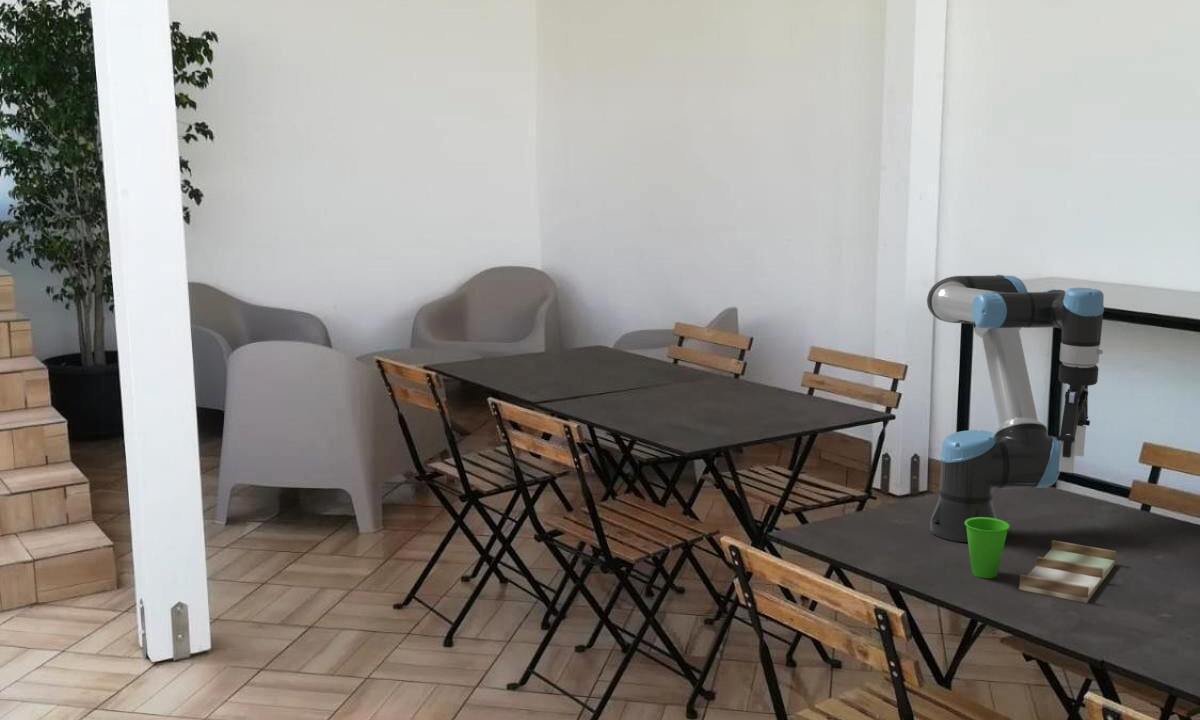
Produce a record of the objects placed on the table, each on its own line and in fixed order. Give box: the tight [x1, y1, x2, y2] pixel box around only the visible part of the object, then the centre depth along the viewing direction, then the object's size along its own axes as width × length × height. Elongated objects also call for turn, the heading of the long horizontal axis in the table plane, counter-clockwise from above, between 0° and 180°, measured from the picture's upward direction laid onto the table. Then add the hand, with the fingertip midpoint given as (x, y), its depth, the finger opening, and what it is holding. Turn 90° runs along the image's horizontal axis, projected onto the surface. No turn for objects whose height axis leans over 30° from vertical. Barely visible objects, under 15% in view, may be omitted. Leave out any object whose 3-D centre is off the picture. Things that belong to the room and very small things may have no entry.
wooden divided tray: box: [1018, 539, 1117, 604], centre depth 250 cm, size 13×26×3 cm, turn 146°
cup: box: [964, 517, 1011, 579], centre depth 251 cm, size 9×9×11 cm
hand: (1071, 463), depth 252 cm, fingers open, 13 cm apart
